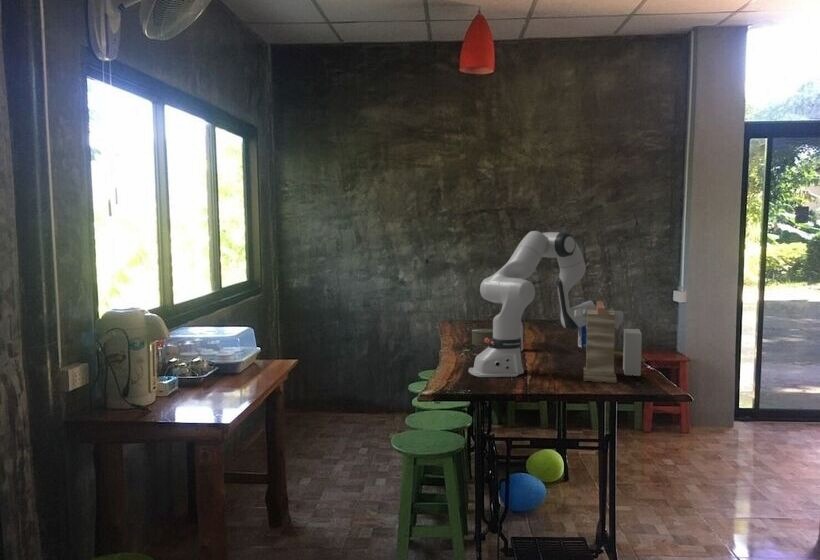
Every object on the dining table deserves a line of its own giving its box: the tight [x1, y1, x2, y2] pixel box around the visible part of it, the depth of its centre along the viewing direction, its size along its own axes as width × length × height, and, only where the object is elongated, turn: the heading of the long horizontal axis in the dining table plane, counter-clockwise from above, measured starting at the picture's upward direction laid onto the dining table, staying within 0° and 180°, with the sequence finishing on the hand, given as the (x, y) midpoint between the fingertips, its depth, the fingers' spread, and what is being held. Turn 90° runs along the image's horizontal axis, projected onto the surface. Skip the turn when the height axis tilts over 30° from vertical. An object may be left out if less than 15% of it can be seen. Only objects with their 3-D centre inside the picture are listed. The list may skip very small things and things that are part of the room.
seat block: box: [622, 328, 643, 377], centre depth 259 cm, size 12×6×17 cm, turn 165°
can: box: [471, 328, 493, 347], centre depth 326 cm, size 12×12×7 cm
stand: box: [582, 309, 617, 384], centre depth 251 cm, size 18×12×26 cm, turn 165°
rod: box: [595, 300, 606, 315], centre depth 254 cm, size 25×2×2 cm, turn 165°
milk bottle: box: [520, 321, 524, 352], centre depth 307 cm, size 8×8×20 cm
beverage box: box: [577, 301, 605, 349], centre depth 315 cm, size 7×11×22 cm, turn 90°
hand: (599, 309), depth 266 cm, fingers open, 8 cm apart
